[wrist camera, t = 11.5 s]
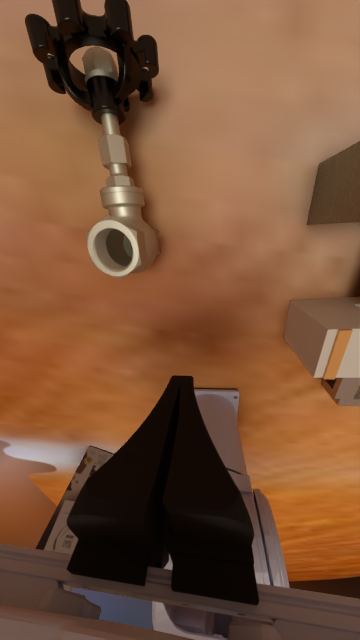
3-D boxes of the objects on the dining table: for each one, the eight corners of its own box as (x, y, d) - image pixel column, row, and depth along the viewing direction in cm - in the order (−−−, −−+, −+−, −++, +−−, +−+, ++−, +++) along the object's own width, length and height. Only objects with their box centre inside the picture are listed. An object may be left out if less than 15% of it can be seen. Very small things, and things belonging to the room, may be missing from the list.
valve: (178, 264, 18) (167, 86, 12) (167, 280, 12) (137, -43, 7) (115, 267, 19) (79, 101, 13) (75, 284, 13) (-18, -2, 7)
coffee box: (88, 444, 34) (6, 600, 20) (120, 455, 35) (63, 614, 20) (81, 465, 38) (9, 607, 24) (109, 475, 39) (56, 619, 24)
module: (350, 336, 19) (410, 379, 14) (283, 338, 20) (315, 379, 15) (365, 296, 17) (442, 327, 12) (290, 300, 18) (329, 331, 13)
